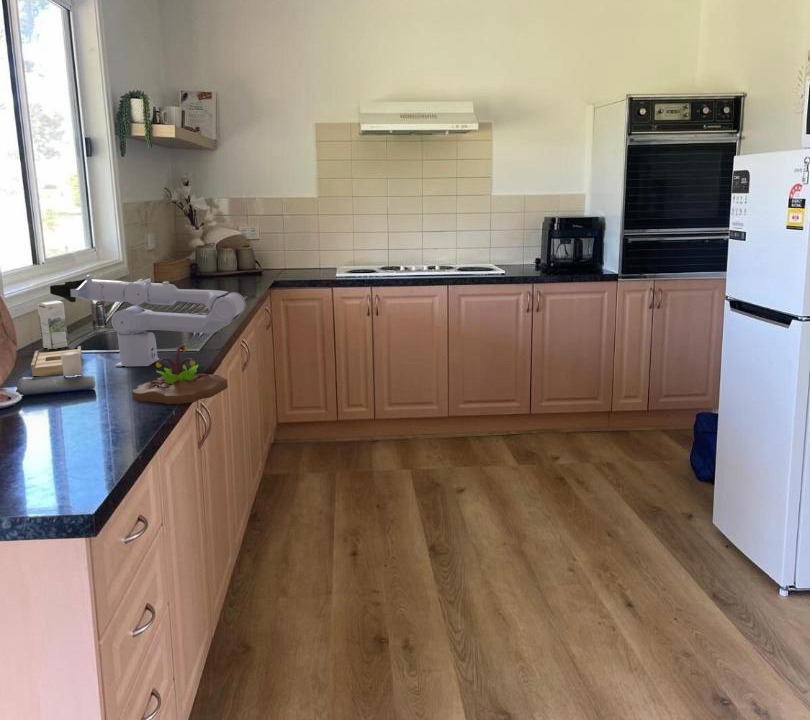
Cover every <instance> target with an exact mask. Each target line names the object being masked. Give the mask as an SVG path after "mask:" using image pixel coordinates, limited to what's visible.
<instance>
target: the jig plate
mask: <svg viewBox="0 0 810 720" xmlns="http://www.w3.org/2000/svg"><path fill="white" fill-rule="evenodd" d="M39 351H40V350H35V351H34V354H33V358H32V361H31V363H30V368H31V373H32V374H31V375H32V377H33V376H40V377H47V376H55V375H56V376H57V375H63V368H62V361H61V354H64V353H69V352H79V353H80V358H81V366H82V367H83V352H82V346H81V345H79V346H77V349H69V350H59V351H50V352H49V351H47V352H39Z"/></svg>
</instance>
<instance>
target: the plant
mask: <svg viewBox="0 0 810 720" xmlns="http://www.w3.org/2000/svg"><path fill="white" fill-rule="evenodd" d="M187 350H188V347H187V346H186V345H183V344H181V345H179V346H178V347H177V349H176V353H175V361H173V360H172V359H171V358H169V357H163V358H161V359H159V360H158V361H156V362H155V367H156V368H157V369H160V368H162V365H163V362H164V361H166V362H168V363H169V365H170V368H167V367H164V368H163V370H164V371H162V370H161V371H160V370H156V371H155V372H156V373H158V374H159V375H161V376H160V377H157V378H154V380H150V381H148V382H144V383H143V384H139V385H136V388H135V389H133V390H131V394H132V399H133V400H134V401H136V400H137V401H136V402H142V401H149V402H148V403H158V402H159V403H160V404H166V405H179V404H189V403H196V402H197V401H200V400H204V399H209V398H212V397H214V396H216V395H218V394H219V393H221V392H223V391H225V390H226V389H228V387H229V386H228V379H227V378H224V377H223V376H221V375H220V374H210V373H209V374H208V373H197V371H198V370H197V369H198V367H199V366H200V365H199V364H196V361H195V360H194V359H193V358H190V357H189V358H184V359H183V360H181V355H180V353H181V352H180V351H182V352H183V353H184V352H185V353H186V352H187ZM186 362H188V363H189V365H190V368H189V369H187V365H185V363H186ZM150 401H151V402H150Z"/></svg>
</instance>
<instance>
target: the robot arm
mask: <svg viewBox="0 0 810 720" xmlns="http://www.w3.org/2000/svg"><path fill="white" fill-rule="evenodd" d="M49 290H50V292H49V293H50V294H51V295H53V296H56V297H60V298H63V299H65V300H67V301H69V302H70V303H75V302H77V299H76V298H80V299H82V300H85V301H87V302H92V301H94V302H95V301H96V302H99V301H100V302H112V303H115V302H116V303H129V304H130V305H131V306H129V307H127V308H124V309H122V310H117V311H116V312H114V313H113V315H112V316H111V320H110V322H111V326H112V328H113V329H114V331H115V332H116V335H117V342H118V350H119V351H118V352H119V359H120V361H119V362H118V363H116V364H114V367H116V368H117V367H122V366H125V367H149V366H151V365H152V364H154V363H157V362H158V361H160V358H159V357H158V356H159V355H158V350H157V349H158V348H157V339H156V336H155V334H154V332H150V330H151V331H152V330H153V331H168V332H183V333H197V334H199V333H200V334H215V333H216V332H218V331H220V330H221V329H223V328H224V327H226V326H227V325H229V324H231V323H232V322H233V321H235V320H237V319H239V317H240V316H241V315H242V314H243V312H244V311H245V310H246V300H245V298H244V296H243V295H242V294H240V293H238V292H233V291H232V292H229V291H228V290H227V291H226V290H219V289H218V290H217V289H184V288H183V289H182V288H181V289H180V288H178V287H177V286H176V285H175V284H173V283H172V284H171V283H170V281H168V280H167V281H162V283H159V282H151V280H146V281H144V280H138V281H135V282H131V281H124V280H110V279H93V275H92V274H87V275H86V276H85V278H84V279H79V280H78V279H77V280H70V281H65V282H64V283H63V284H62V283H61V284H54V285H50V286H49ZM177 302H182V303H191V304H194V303H195V304H203V305H205V307H206V309H208V310H209V311H210V312H208V314H196V313H194V314H193V313H182V312H181V313H179V312H165V311H164V312H162V311H153V310H151V309H145V308H143V307H141V306H140V305H142V304H144V303H146V304H149V305H158V306H159V305H161V306H162V305H164V306H174V304H176V303H177ZM148 330H149V331H148Z"/></svg>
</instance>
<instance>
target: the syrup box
mask: <svg viewBox="0 0 810 720" xmlns="http://www.w3.org/2000/svg"><path fill="white" fill-rule="evenodd" d="M64 303H65V302H63V301H61V300H50V301H44V302H37V304H36V307H37V315H38V321H39V329H40V334H41V335H40V336H41V337H40V338H41V342H42V348H43V347H44V348H48V349H47V350H49V349H55V350H59V349H58V348H61V349H65V347H66V348H69V347H70V345H69V337H68V336H69V334H68V329H67V328H68V327H67V319H66V314H65V313H66V311H65V305H64ZM44 348H43V349H44Z"/></svg>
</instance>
